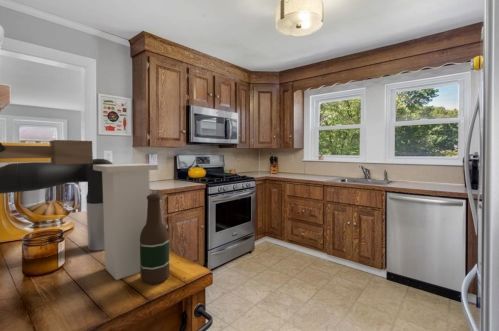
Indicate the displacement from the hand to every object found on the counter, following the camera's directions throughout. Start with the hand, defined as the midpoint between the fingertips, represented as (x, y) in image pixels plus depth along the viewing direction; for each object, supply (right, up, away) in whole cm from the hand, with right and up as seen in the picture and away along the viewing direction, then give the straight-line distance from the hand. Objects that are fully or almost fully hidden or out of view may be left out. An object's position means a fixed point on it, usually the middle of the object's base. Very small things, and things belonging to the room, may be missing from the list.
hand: (2, 145), depth 59 cm
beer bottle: (+31, -37, +13) cm, 50 cm away
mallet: (+4, -4, +4) cm, 7 cm away
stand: (+20, -36, +19) cm, 46 cm away
